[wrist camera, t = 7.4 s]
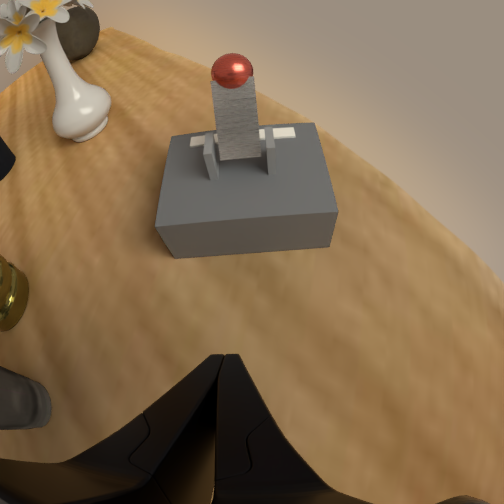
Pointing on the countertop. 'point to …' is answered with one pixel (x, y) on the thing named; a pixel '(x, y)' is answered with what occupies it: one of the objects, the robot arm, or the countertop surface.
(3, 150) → the black bottle
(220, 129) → the switch lever
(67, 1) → the flower vase
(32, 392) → the beverage cup
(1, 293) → the salt shaker
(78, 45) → the dark brown ball
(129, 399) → the countertop surface
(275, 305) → the countertop surface
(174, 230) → the switch box
